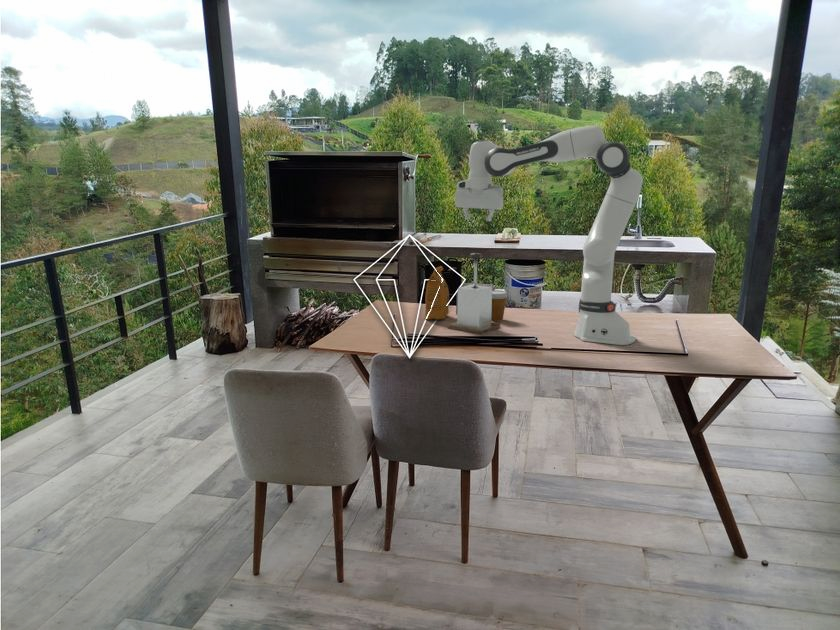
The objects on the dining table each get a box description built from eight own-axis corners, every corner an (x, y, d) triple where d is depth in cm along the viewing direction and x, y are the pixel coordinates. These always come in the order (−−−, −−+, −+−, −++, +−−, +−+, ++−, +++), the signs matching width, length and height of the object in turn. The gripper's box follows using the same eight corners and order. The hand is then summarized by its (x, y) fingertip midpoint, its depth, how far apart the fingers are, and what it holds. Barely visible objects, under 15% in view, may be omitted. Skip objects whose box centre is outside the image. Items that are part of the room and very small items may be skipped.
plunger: (487, 299, 243) (489, 253, 239) (478, 302, 237) (479, 255, 232) (471, 297, 247) (472, 252, 243) (461, 299, 241) (462, 254, 237)
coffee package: (452, 315, 266) (452, 266, 261) (444, 321, 254) (444, 270, 249) (430, 314, 269) (431, 265, 264) (421, 320, 257) (422, 269, 252)
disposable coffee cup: (495, 316, 265) (495, 289, 262) (511, 319, 258) (512, 292, 255) (479, 319, 259) (480, 291, 257) (495, 323, 252) (496, 294, 249)
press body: (499, 327, 245) (501, 287, 242) (482, 334, 234) (483, 292, 231) (465, 321, 254) (466, 283, 251) (447, 328, 243) (448, 287, 240)
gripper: (507, 184, 228) (505, 221, 232) (461, 183, 240) (460, 218, 243) (499, 184, 223) (497, 222, 227) (453, 183, 235) (452, 219, 238)
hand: (478, 220), depth 235 cm, fingers open, 8 cm apart
